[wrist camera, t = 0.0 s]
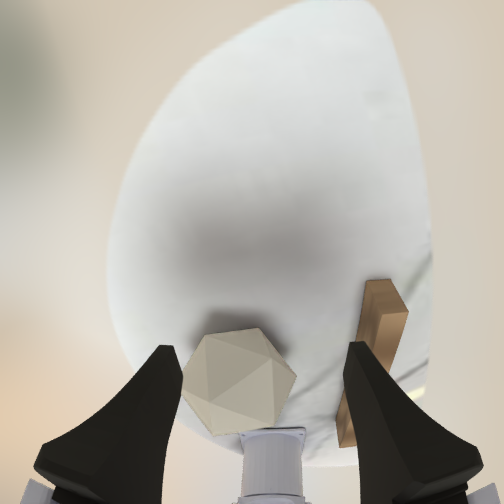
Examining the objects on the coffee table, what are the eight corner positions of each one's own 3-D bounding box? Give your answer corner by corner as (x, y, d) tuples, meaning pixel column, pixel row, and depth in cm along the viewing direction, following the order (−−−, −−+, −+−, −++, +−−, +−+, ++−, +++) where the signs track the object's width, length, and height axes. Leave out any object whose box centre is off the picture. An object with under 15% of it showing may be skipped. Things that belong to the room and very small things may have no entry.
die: (191, 296, 24) (140, 405, 20) (287, 314, 19) (230, 457, 15) (240, 335, 29) (202, 423, 25) (321, 353, 24) (282, 457, 20)
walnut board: (351, 418, 31) (356, 445, 27) (335, 420, 31) (339, 448, 27) (390, 279, 21) (408, 311, 18) (366, 280, 22) (381, 314, 18)
